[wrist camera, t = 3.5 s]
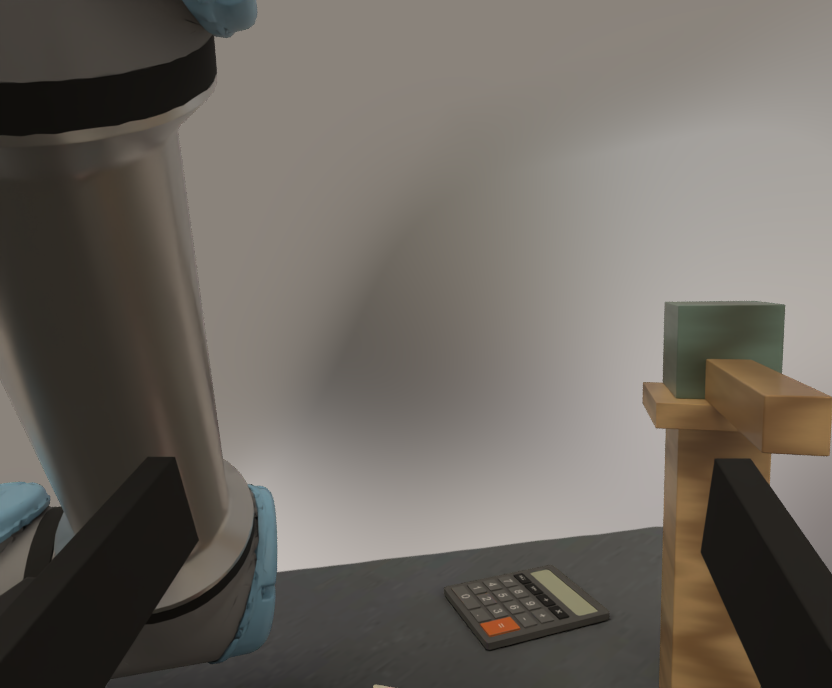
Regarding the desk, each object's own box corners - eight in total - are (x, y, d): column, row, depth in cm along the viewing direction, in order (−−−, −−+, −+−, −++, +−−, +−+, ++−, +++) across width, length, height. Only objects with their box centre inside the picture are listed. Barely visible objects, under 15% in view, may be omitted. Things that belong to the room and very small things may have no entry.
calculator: (443, 585, 69) (551, 562, 74) (443, 593, 69) (551, 569, 74) (487, 641, 58) (611, 610, 63) (487, 650, 58) (610, 618, 63)
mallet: (719, 451, 24) (724, 317, 23) (662, 382, 40) (664, 302, 39) (876, 459, 22) (886, 317, 22) (752, 384, 38) (756, 300, 38)
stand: (627, 868, 37) (637, 402, 34) (620, 777, 43) (627, 381, 40) (808, 911, 34) (837, 409, 31) (770, 807, 41) (791, 385, 38)
